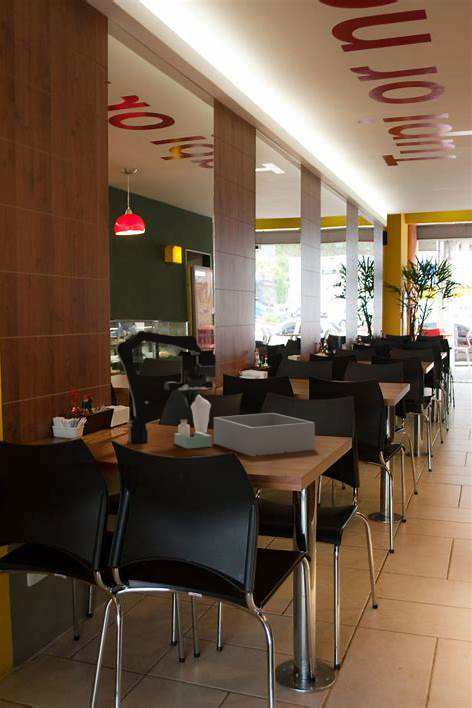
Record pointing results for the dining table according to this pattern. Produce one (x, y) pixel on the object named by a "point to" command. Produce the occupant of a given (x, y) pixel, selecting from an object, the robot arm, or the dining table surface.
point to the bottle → (184, 428)
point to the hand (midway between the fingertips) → (188, 407)
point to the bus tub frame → (264, 433)
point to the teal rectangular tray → (193, 440)
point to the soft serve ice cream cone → (200, 414)
